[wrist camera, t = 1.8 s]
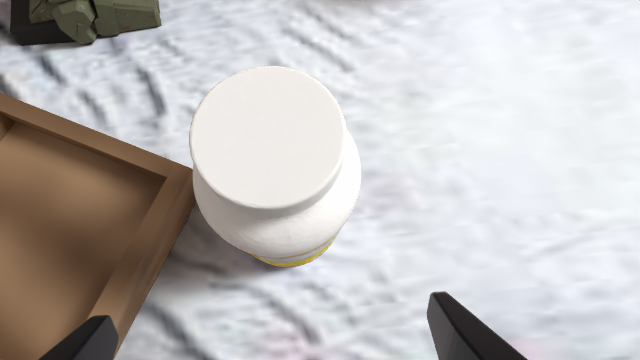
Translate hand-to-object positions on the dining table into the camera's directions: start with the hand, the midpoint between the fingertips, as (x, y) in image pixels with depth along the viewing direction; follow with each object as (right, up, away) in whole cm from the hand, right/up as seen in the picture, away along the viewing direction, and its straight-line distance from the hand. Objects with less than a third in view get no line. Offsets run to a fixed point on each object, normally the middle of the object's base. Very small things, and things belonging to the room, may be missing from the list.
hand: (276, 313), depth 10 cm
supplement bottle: (-1, +1, +13) cm, 13 cm away
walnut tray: (-15, 0, +11) cm, 19 cm away
